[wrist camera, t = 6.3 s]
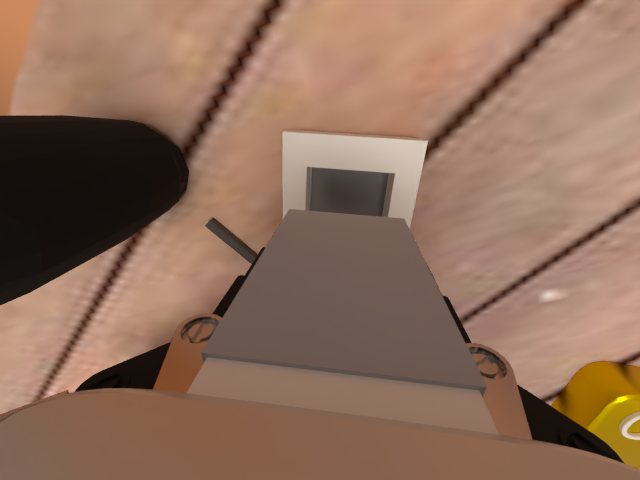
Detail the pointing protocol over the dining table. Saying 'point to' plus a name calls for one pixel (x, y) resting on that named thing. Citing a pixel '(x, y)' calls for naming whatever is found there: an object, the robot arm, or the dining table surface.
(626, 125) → the dining table surface
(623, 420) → the element tile
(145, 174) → the portable speaker
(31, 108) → the dining table surface
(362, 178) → the power strip
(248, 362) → the plug
